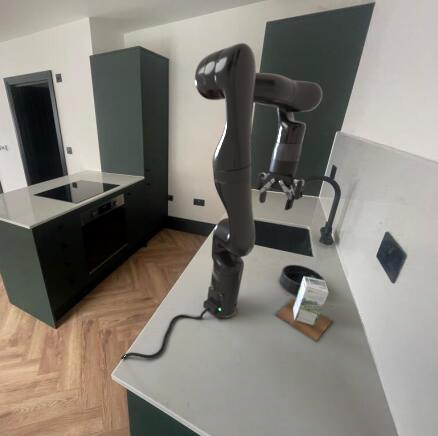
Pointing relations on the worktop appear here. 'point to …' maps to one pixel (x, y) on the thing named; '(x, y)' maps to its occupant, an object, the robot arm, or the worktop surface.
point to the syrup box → (310, 300)
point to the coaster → (307, 329)
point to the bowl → (296, 277)
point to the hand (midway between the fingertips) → (274, 206)
